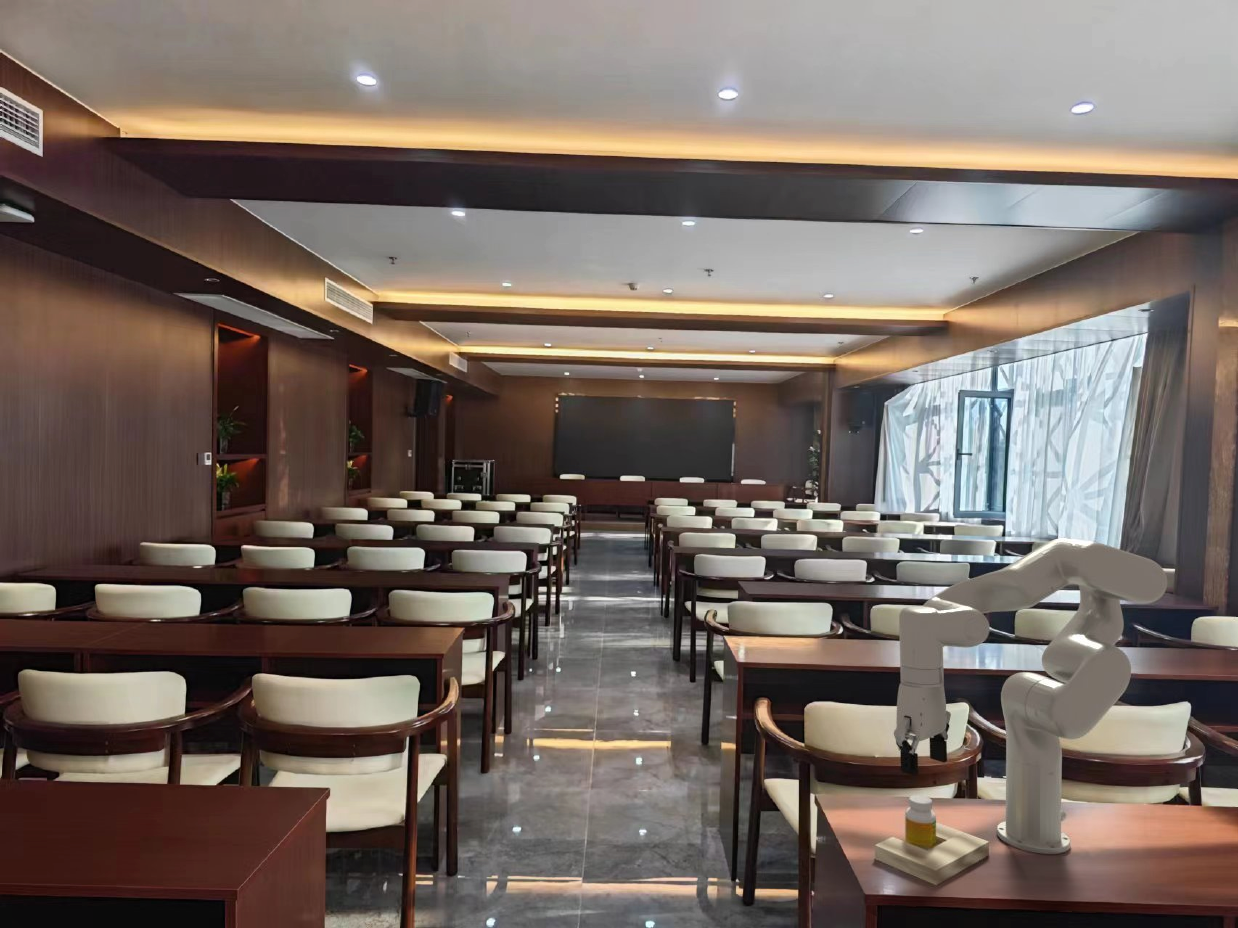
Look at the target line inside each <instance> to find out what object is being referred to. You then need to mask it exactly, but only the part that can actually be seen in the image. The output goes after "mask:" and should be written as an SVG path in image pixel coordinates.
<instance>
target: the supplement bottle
mask: <svg viewBox="0 0 1238 928" xmlns="http://www.w3.org/2000/svg"><path fill="white" fill-rule="evenodd" d="M908 800H909V801H908V804H909V807H908V808H907V809H906V810H905V811H904V813H905V814H904V816H905V817H904V841H905V842H907V843H910V844H912V845H915V846H917V847H920V848H922V849H925V850H929V849H931V848H933V847H935V846H936V822H937V815H936V813H935V812H934V810H932V809H933V801H932V799H931V798H929V797H927V796H924V795H918V794H915V795H911V796H910V797H908Z"/></svg>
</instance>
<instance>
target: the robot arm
mask: <svg viewBox="0 0 1238 928" xmlns="http://www.w3.org/2000/svg"><path fill="white" fill-rule="evenodd" d="M1069 585H1077V586H1078V588H1079V596H1080V597H1079V599H1080V600H1079V606H1078V609H1077V611H1076V612H1075V614H1074V615H1073V617H1072V618H1070V620H1069V621H1068V622H1067V624H1065V626H1064V627H1063V628H1062V629H1061V630H1060V631H1059V633H1058V634H1057V635H1055V637H1054V638H1053V639H1052V641H1050V643H1049V644H1048V645H1047V647H1046V648H1045V649H1044V651H1043V653H1042V655H1041V665H1042V667H1043V670H1044V671H1045V672H1046V673H1047V674H1048V676H1050V677H1051V678H1050V677H1047V676H1045V675H1042V674H1039V673H1036V672H1035V673H1034V672H1031V671H1030V672H1028V671H1026V672H1025V671H1023V672H1017V673H1014V674H1013V675H1010V676H1009V677H1008V678H1006V680H1005V681H1004V683H1003V685H1002V688H1001V692H1000V701H1001V708H1002V714H1003V717H1004V724H1005V740H1006V741H1005V742H1006V743H1005V744H1006V749H1005V752H1006V754H1005V820H1004V821H1002V822H1000V823H998V825H997V826H996V834H997V836H998V837H999V839H1001V841H1002V842H1004V843H1006V844H1008V845H1010V846H1012V847H1013V848H1017V849H1019V850H1023V851H1025V852H1030V853H1035V854H1037V853H1038V854H1042V855H1043V854H1045V855H1055V854H1056V855H1057V854H1062V853H1065V852H1067V851H1069V849H1070V848H1071V839H1070V837H1069V836H1068V835H1067V834H1066V833H1064V832H1063V831H1062V822H1063V821H1064V820H1066V818H1067V814H1066V811H1064V810H1062V775H1063V774H1062V768H1063V767H1062V763H1063V755H1062V753H1063V751H1062V745H1061V741H1060V738H1061V739H1066V740H1078V739H1081V738H1083V737H1085V736H1086V735H1088V734H1089V733H1090V731H1092V730H1093V729H1094V728H1095V727H1096V725H1097V724H1098V723H1100V721H1101V720H1102V719H1103V718H1104V716H1105V715H1106V714H1107V713H1108V712H1109V710H1110V709H1111V708H1112V707H1113V706H1114V705H1115V704H1116V703H1117V702H1118V700H1119V699H1120V697H1122V696H1123V694H1124V693H1125V691H1126V690H1127V688H1128V686H1129V683H1130V680H1131V676H1132V666H1131V661H1130V659H1129V657H1128V655H1127V654H1126V653H1125V652H1124V651H1123V650H1122V649H1121V648H1119V647H1117V646H1115V645H1116V644H1117V642H1118V641H1119V640H1120V638H1121V636H1122V634H1123V631H1124V627H1125V626H1124V624H1125V623H1124V622H1125V621H1124V616H1123V612H1122V611H1123V610H1122V607H1121V601H1125V602H1129V603H1135V604H1143V605H1145V604H1151V603H1154V602H1155V601H1158V600H1160V599H1161V598H1162V596H1163V595H1164V594H1165V592H1166V590H1167V588H1168V577H1167V574H1166V571H1165V570H1164V569H1163V568H1162V566H1161V565H1160V564H1158V563H1157V562H1156V561H1154V560H1152V559H1151V558H1147V557H1145V556H1141V555H1138V554H1135V553H1132V552H1130V551H1129V552H1128V551H1126V550H1122V549H1120V548H1117V547H1113V546H1111V545H1107V544H1104V543H1100V542H1098V541H1097V542H1096V541H1091V540H1090V541H1089V540H1082V539H1072V538H1056V539H1052V540H1050V541H1048V542H1045V543H1044V544H1042V545H1041V546H1039V547H1038V548H1036V549H1034V550H1032V551H1030V552H1029V553H1027V554H1026V555H1024V556H1022V557H1021V558H1020V559H1018V560H1016V561H1013V562H1012V563H1010V564H1009V565H1008V566H1004V567H1003V568H1001V569H998V570H995V571H992V572H988V573H985V574H981V575H979V576H976V577H973V578H969V579H966V580H963V581H961V582H958V583H955V584H953V585H951V586H949V587H947V588H945V589H943V590H942V591H940V592H939V593H937V594H935V595H933V596H932V597H931V598H929V599H928V600H927V601H926V602H925V603H924V604H923V605H922V606H915V605H913V606H906V607H904V608H902V609H901V610H900V611H899V615H898V623H899V625H898V628H899V629H898V631H899V633H898V634H899V662H900V663H899V664H900V670H899V671H900V672H899V673H900V683H899V686H898V692H897V701H896V720H895V721H896V722H895V725H896V727H895V729H894V730H893V737H894V738H895V744H896V746H897V747H898V751H900V752H899V753H900V754H899V755H900V756H899V757H900V771H901V772H902V773H904V774H907V775H911V776H914V777H916V776H918V775H919V756H918V755H919V754H918V753H917V749H918V746H919V743H920V742H922V741H925V740H927V739H929V758H930V759H931V760H934V761H938V762H941V763H947V761H948V750H947V749H948V748H947V746H948V745H947V744H948V743H947V741H948V738H949V734H948V731H949V729H950V721H951V720H950V719H951V718H952V717H951V716H952V714H951V712H950V711H948V710H947V701H946V700H947V699H946V694H945V686H944V684H945V679H944V647H953V648H964V649H965V648H968V649H969V648H973V647H974V648H975V647H977V646H980V645H981V644H983V642H985V641H986V640H987V638H988V636H989V634H990V623H989V620H988V619H987V617H986V615H985V614H987V613H988V614H989V613H993V612H1013V611H1015V612H1016V611H1020V610H1027V609H1030V608H1033V607H1034V606H1035V605H1038V604H1039V603H1040V602H1042V601H1044V600H1045V599H1046V598H1048V597H1050V596H1051V595H1053V594H1055V593H1057V592H1058V591H1059V590H1060V591H1061V590H1062V589H1063V588H1065V587H1067V586H1069ZM908 740H909V741H911V743H909V741H908Z"/></svg>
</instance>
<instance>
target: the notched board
mask: <svg viewBox="0 0 1238 928" xmlns="http://www.w3.org/2000/svg"><path fill="white" fill-rule="evenodd" d="M988 855H989V856H990V841H989V840H986V839H983V838H980V837H977V836H975V835H972V834H969V833H966V832H965V831H961V830H958V829H956V828H953V827H950V826H947V825H944V824H941V823H939V822H937V821H936V846H935V847H933V848H931V849H929V850H925V849H922V848H920V847H917V846H915V845H912V844H910V843H907V842H905V840H902V839H900V838H897V837H894V836H891V837H889V838H886V839H885V840H883V841H880V842H878V843H877V844H875V845H874V860H877V861H879V862H880V863H881V862H882V863H883V864H886V865H887V866H888V865H889V866H890V867H893V868H895V869H898V870H900V871H902V872H904V873H906V874H909V875H911V876H913V877H916V878H919V879H920V880H923V881H925V882H928V883H930V884H932V885H935V886H937V885H939V884H941V883H942V882H945V881H946V880H948V879H949V878H951V877H954V876H956V874H958V873H960V872H962V871H963V870H965V869H967V868H969V867H971V866H972V865H974V864H976V863H978V862H979V860H980V861H982V860H983V859H985V858H987V857H989V856H988ZM986 856H987V857H986Z"/></svg>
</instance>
